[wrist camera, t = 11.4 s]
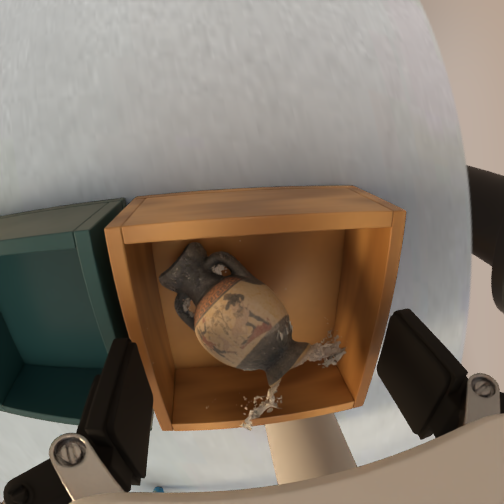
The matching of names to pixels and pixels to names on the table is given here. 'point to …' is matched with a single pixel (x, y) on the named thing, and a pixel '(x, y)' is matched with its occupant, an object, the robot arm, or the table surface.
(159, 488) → the ornament
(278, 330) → the vase
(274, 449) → the beverage can
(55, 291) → the can bin
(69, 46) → the table surface
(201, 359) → the bin
